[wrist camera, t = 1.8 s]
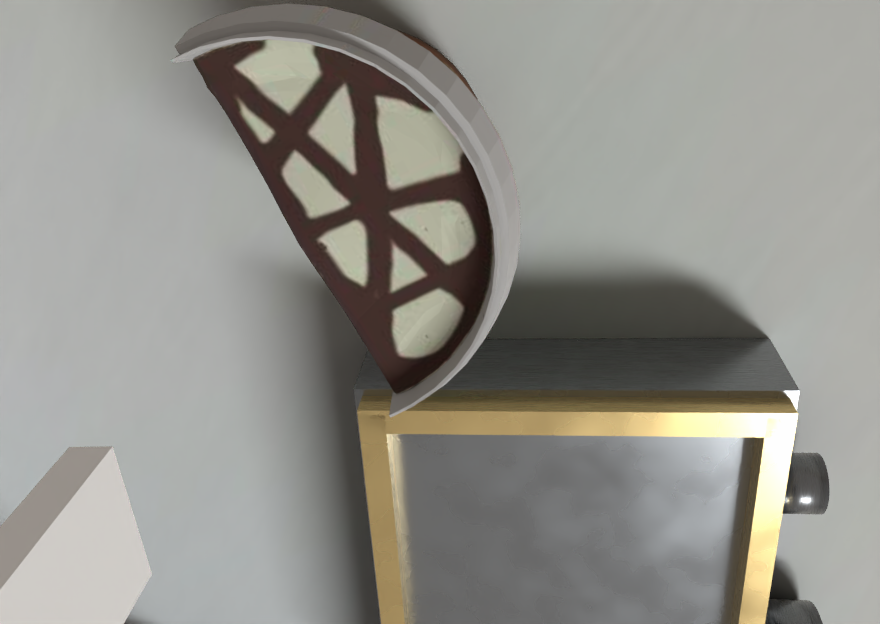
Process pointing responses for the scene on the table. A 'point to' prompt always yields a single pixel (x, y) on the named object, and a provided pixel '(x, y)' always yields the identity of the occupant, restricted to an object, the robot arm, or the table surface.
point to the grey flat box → (588, 485)
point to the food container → (374, 176)
